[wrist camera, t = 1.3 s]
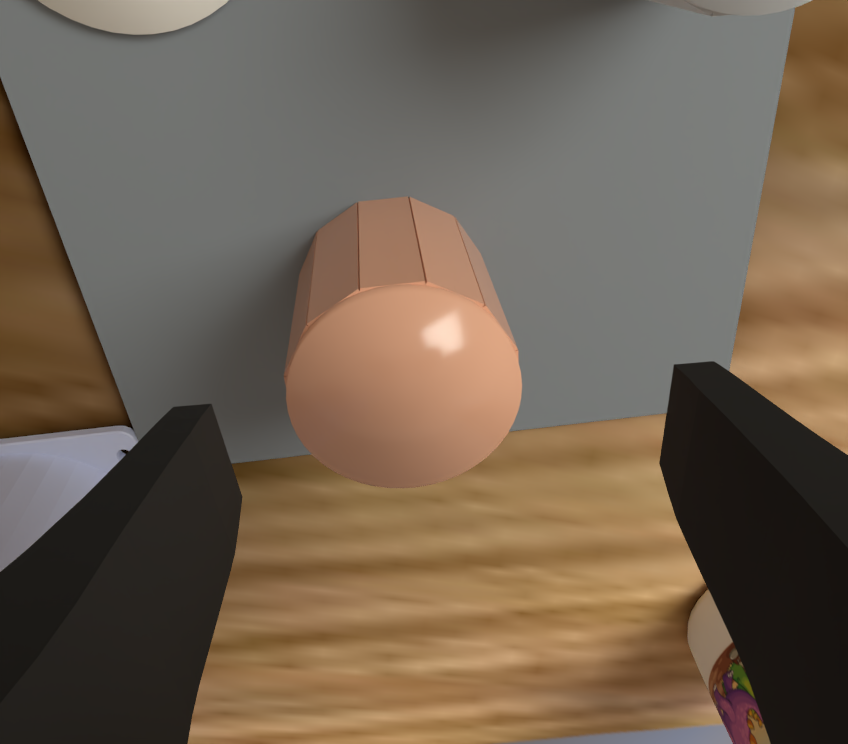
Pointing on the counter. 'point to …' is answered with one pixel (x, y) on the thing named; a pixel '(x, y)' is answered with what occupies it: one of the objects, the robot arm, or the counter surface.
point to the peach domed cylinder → (399, 348)
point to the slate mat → (398, 179)
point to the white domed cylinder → (733, 6)
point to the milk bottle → (724, 673)
